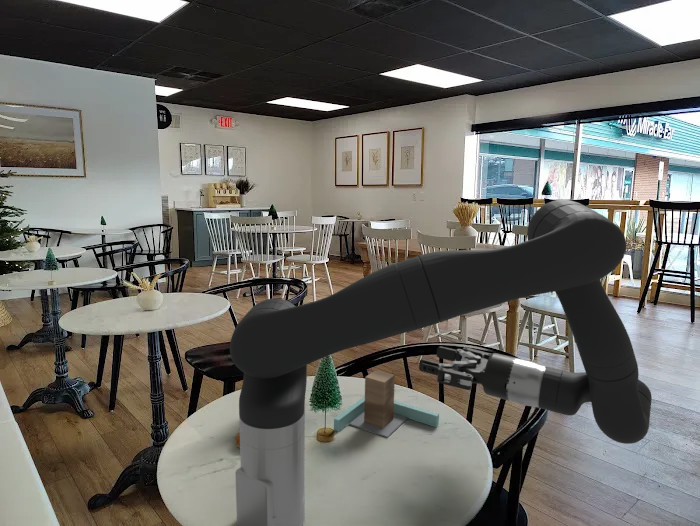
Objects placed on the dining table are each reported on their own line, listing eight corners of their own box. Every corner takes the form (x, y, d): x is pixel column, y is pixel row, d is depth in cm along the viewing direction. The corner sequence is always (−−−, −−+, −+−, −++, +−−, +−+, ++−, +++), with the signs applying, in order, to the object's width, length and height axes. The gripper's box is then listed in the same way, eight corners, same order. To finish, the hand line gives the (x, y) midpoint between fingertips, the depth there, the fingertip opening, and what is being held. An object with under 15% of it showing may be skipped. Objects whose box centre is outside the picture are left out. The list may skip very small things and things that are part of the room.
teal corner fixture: (409, 457, 86) (410, 444, 86) (333, 429, 95) (333, 418, 95) (438, 424, 98) (439, 413, 97) (368, 403, 107) (368, 393, 106)
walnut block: (382, 428, 95) (384, 382, 94) (364, 421, 98) (365, 377, 96) (393, 419, 99) (394, 374, 97) (374, 413, 101) (376, 369, 100)
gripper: (526, 348, 87) (444, 330, 95) (507, 372, 75) (414, 349, 83) (522, 386, 88) (441, 364, 96) (502, 415, 76) (411, 388, 84)
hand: (429, 357), depth 90 cm, fingers open, 8 cm apart
